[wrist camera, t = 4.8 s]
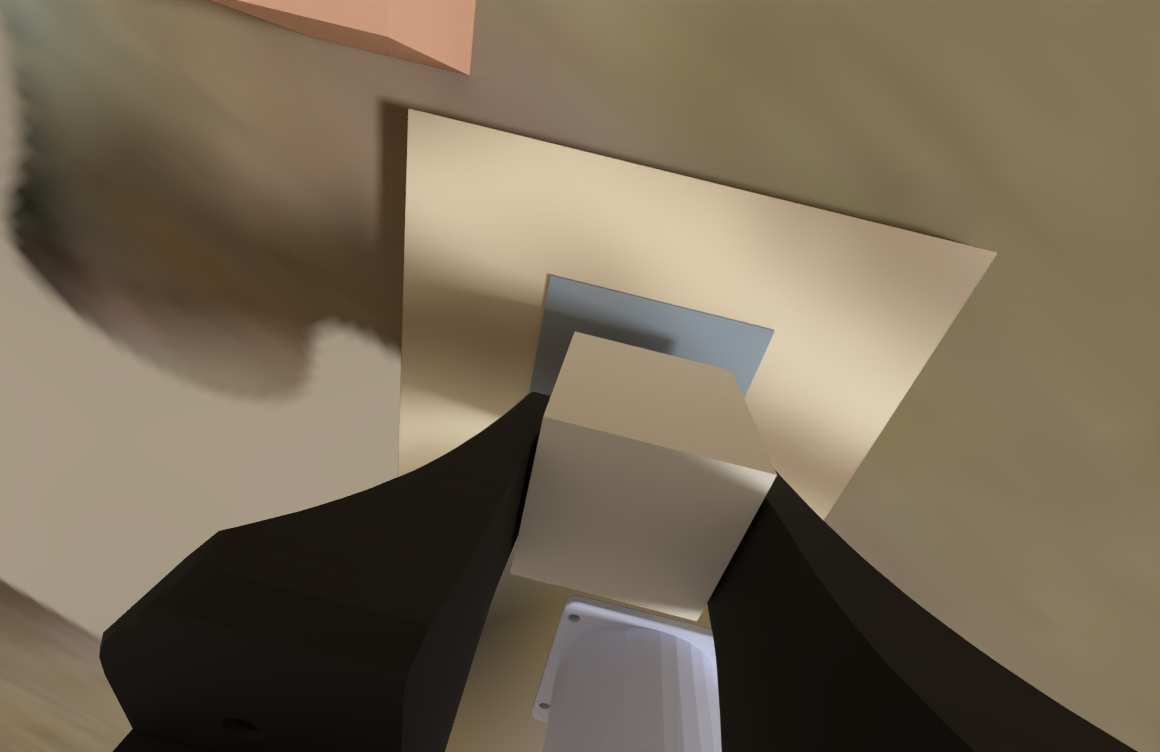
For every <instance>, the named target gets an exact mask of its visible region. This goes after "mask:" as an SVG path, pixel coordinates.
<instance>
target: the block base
mask: <svg viewBox="0 0 1160 752" xmlns="http://www.w3.org/2000/svg"><path fill="white" fill-rule="evenodd" d="M776 476H777V474H776V471H775V469H774V467H773V464H772V462H771V460H770V457H769V455H768V453H767V450H766V448H765V446H764V443H763V441H762V439H761V436H760V434H759V432H758V429H757V427H756V425H755V422H754V420H753V418H752V415H751V413H750V411H749V408H748V406H747V404H746V401H745V399H744V397H743V394H742V392H741V390H740V387H739V385H738V383H737V380H736V378H735V376H734V373H733V371H732V370H728V369H724V368H720V367H716V366H712V365H708V364H704V363H700V362H696V361H692V360H688V359H684V358H680V357H676V356H672V355H668V354H664V353H660V352H656V351H651V350H647V349H643V348H639V347H635V346H631V345H627V344H623V343H619V342H615V341H611V340H607V339H603V338H599V337H595V336H591V335H587V334H583V333H579V332H574V335H573V338H572V340H571V343H570V346H569V348H568V351H567V354H566V356H565V359H564V362H563V365H562V367H561V370H560V373H559V375H558V378H557V381H556V383H555V386H554V389H553V392H552V394H551V397H550V400H549V402H548V405H547V408H546V410H545V413H544V416H543V420H542V425H541V430H540V434H539V439H538V444H537V449H536V454H535V458H534V463H533V468H532V473H531V477H530V482H529V487H528V492H527V496H526V501H525V506H524V511H523V515H522V520H521V525H520V530H519V534H518V540H517V544H516V549H515V553H514V558H513V563H512V568H511V572H510V573H511V574H513V575H517V576H521V577H525V578H529V579H533V580H537V581H540V582H544V583H548V584H552V585H556V586H561V587H564V588H568V589H572V590H576V591H580V592H584V593H587V594H592V595H595V596H599V597H603V598H607V599H611V600H615V601H619V602H623V603H627V604H631V605H635V606H639V607H642V608H647V609H650V610H654V611H658V612H662V613H666V614H670V615H674V616H678V617H681V618H686V619H689V620H694V621H697V620H698V618H699V616H700V615H701V613H702V611H703V609H704V607H705V606H706V604H707V602H708V600H709V598H710V597H711V595H712V593H713V591H714V589H715V587H716V586H717V584H718V582H719V580H720V578H721V576H722V575H723V573H724V571H725V569H726V567H727V566H728V564H729V562H730V560H731V558H732V556H733V555H734V553H735V551H736V549H737V547H738V545H739V544H740V542H741V540H742V538H743V536H744V535H745V533H746V531H747V529H748V527H749V525H750V524H751V522H752V520H753V518H754V516H755V514H756V513H757V511H758V509H759V507H760V505H761V504H762V502H763V500H764V498H765V496H766V494H767V493H768V491H769V489H770V487H771V485H772V483H773V482H774V480H775V478H776Z"/></svg>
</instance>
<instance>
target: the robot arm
mask: <svg viewBox="0 0 1160 752" xmlns="http://www.w3.org/2000/svg"><path fill="white" fill-rule="evenodd" d="M550 397H551V396H549V395H545V394H541V393H537V392H531V393H529V394H527V395H526V396H525V397H524V398H523V399H522V400H521V401H520V402H519V403H517V404H516V405H515V406H514V407H513V408H511V409H510V410H509V411H508V412H507V413H505V414H504V415H503V416H501V417H500V418H499V419H497V420H496V421H495V422H493V423H492V424H491V425H489V426H488V427H487V428H485V429H484V430H483V431H481V432H480V433H478V434H477V435H475V436H473V437H472V438H470V439H469V440H467V441H466V442H464V443H463V444H461V445H459V446H458V447H456V448H455V449H453V450H451V451H450V452H448V453H446V454H444V455H443V456H441V457H439V458H437V459H435V460H433V461H431V462H429V463H428V464H426V465H424V466H422V467H420V468H418V469H416V470H413V471H411V472H409V473H407V474H404V475H402V476H399V477H397V478H395V479H392V480H390V481H387V482H385V483H382V484H380V485H378V486H375V487H373V488H370V489H368V490H365V491H362V492H359V493H356V494H353V495H351V496H347V497H345V498H342V499H338V500H335V501H332V502H329V503H326V504H322V505H319V506H316V507H313V508H309V509H306V510H303V511H299V512H295V513H291V514H287V515H283V516H279V517H275V518H271V519H267V520H263V521H259V522H255V523H251V524H247V525H243V526H239V527H235V528H230V529H226V530H222V531H219V532H217V533H216V534H215V535H213V536H212V537H211V538H210V539H208V540H207V541H206V542H205V543H203V545H201V546H200V547H199V548H197V549H196V550H195V551H194V552H192V553H191V554H190V555H189V556H187V557H186V558H185V559H184V560H183V561H182V562H181V563H180V564H179V565H177V566H176V567H175V568H174V569H173V570H172V571H171V572H170V573H169V574H168V575H166V576H165V577H164V578H163V579H162V580H161V581H160V582H159V583H158V584H157V585H156V586H154V587H153V588H152V589H151V590H150V591H149V592H148V593H147V594H145V595H144V596H143V597H142V598H141V599H140V600H139V601H138V602H137V603H136V604H134V605H133V606H132V607H131V608H130V609H129V610H128V611H127V612H126V613H125V614H123V615H122V617H120V618H119V619H118V620H117V621H116V622H115V623H114V624H113V625H111V626H110V627H109V628H108V629H107V630H106V631H105V632H104V633H103V637H102V641H101V646H100V660H101V664H102V667H103V670H104V674H105V676H106V678H107V680H108V681H109V683H110V685H111V687H112V689H113V691H114V693H115V695H116V697H117V699H118V701H119V703H120V705H121V707H122V709H123V711H124V712H125V714H126V716H127V718H128V720H129V722H130V724H131V726H132V728H133V729H132V730H131V731H130V733H129V734H128V735H127V736H126V737H125V738H124V739H123V741H122V742H121V743H120V744H119V745H118V746H117V747H116V748H115V750H114V751H113V752H445V749H446V746H447V743H448V739H449V736H450V733H451V730H452V726H453V723H454V720H455V717H456V713H457V710H458V707H459V703H460V700H461V697H462V694H463V691H464V687H465V684H466V681H467V678H468V674H469V671H470V668H471V665H472V661H473V658H474V655H475V652H476V649H477V645H478V642H479V639H480V636H481V633H482V629H483V626H484V623H485V620H486V617H487V614H488V610H489V607H490V604H491V601H492V598H493V596H494V593H495V590H496V588H497V585H498V582H499V580H500V578H501V575H502V573H503V570H504V568H505V566H506V563H507V561H508V558H509V556H510V553H511V551H512V549H513V546H514V544H515V542H516V539H517V537H518V534H519V530H520V525H521V520H522V515H523V511H524V506H525V501H526V496H527V492H528V487H529V482H530V477H531V473H532V468H533V463H534V458H535V454H536V449H537V444H538V439H539V434H540V430H541V425H542V420H543V416H544V413H545V410H546V408H547V405H548V402H549V400H550ZM775 471H776V470H775ZM776 474H777V476H776V478H775V480H774V482H773V483H772V485H771V487H770V489H769V491H768V493H767V494H766V496H765V498H764V500H763V502H762V504H761V505H760V507H759V509H758V511H757V513H756V514H755V516H754V518H753V520H752V522H751V524H750V525H749V527H748V529H747V531H746V533H745V535H744V536H743V538H742V540H741V542H740V544H739V545H738V547H737V549H736V551H735V553H734V555H733V556H732V558H731V560H730V562H729V564H728V566H727V567H726V569H725V571H724V573H723V575H722V576H721V578H720V580H719V582H718V584H717V586H716V587H715V589H714V591H713V593H712V595H711V597H710V598H709V600H708V602H707V604H708V610H709V616H710V622H711V627H712V629H709V628H705V627H701V626H697V625H693V624H689V623H685V622H681V621H677V620H673V619H669V618H666V617H662V616H658V615H654V614H650V613H646V612H642V611H638V610H634V609H631V608H627V607H623V606H619V605H615V604H611V603H607V602H603V601H599V600H595V599H591V598H587V597H584V596H579V595H573V596H570V597H568V598H567V599H566V602H565V605H564V608H563V611H562V615H561V618H560V621H559V624H558V627H557V631H556V634H555V637H554V640H553V643H552V646H551V650H550V653H549V656H548V659H547V663H546V666H545V669H544V672H543V675H542V679H541V682H540V685H539V689H538V691H537V695H536V698H535V701H534V705H533V708H532V716H533V718H534V719H536V720H538V721H542V722H546V723H547V729H546V735H545V741H544V748H543V752H1137V751H1135V750H1134V749H1132V748H1130V747H1129V746H1127V745H1126V744H1124V743H1122V742H1121V741H1119V740H1117V739H1116V738H1114V737H1112V736H1111V735H1109V734H1108V733H1106V732H1104V731H1103V730H1101V729H1099V728H1098V727H1096V726H1094V725H1093V724H1091V723H1090V722H1088V721H1086V720H1085V719H1083V718H1081V717H1080V716H1078V715H1076V714H1075V713H1073V712H1072V711H1070V710H1068V709H1067V708H1065V707H1064V706H1062V705H1060V704H1059V703H1057V702H1056V701H1054V700H1053V699H1051V698H1050V697H1048V696H1047V695H1045V694H1044V693H1042V692H1041V691H1039V690H1038V689H1036V688H1035V687H1033V686H1032V685H1030V684H1029V683H1027V682H1026V681H1024V680H1023V679H1021V678H1020V677H1018V676H1017V675H1015V674H1014V673H1012V672H1011V671H1009V670H1008V669H1006V668H1005V667H1003V666H1002V665H1000V664H999V663H997V662H996V661H995V660H993V659H992V658H990V657H989V656H987V655H986V654H985V653H983V652H982V651H980V650H979V649H977V648H976V647H975V646H973V645H972V644H970V643H969V642H968V641H966V640H965V639H964V638H962V637H961V636H960V635H958V634H957V633H956V632H954V631H953V630H952V629H950V628H949V627H948V626H946V625H945V624H943V623H942V622H941V621H939V620H938V619H937V618H935V617H934V616H933V615H931V614H930V613H929V612H927V611H926V610H925V609H924V608H922V607H921V606H920V605H918V604H917V603H916V602H915V601H913V600H912V599H911V598H910V597H908V596H907V595H906V594H905V593H903V592H902V591H901V590H900V589H899V588H897V587H896V586H895V585H894V584H893V583H892V582H890V581H889V580H888V579H887V578H886V577H884V576H883V575H882V574H881V573H880V572H878V571H877V570H876V569H875V568H874V567H873V566H871V565H870V564H869V563H868V562H867V561H866V560H865V559H863V558H862V557H861V556H860V555H859V554H858V553H857V552H856V551H855V550H854V549H852V548H851V547H850V546H849V545H848V544H847V543H846V542H845V541H844V540H843V539H842V538H841V537H840V536H839V535H838V534H837V533H836V532H835V531H834V530H833V529H832V528H830V527H829V526H828V525H827V524H826V523H825V522H824V521H823V520H822V519H821V518H820V517H819V516H818V515H817V514H816V513H815V511H814V510H813V509H812V508H811V507H810V506H809V505H808V504H807V503H806V502H805V501H804V500H803V499H802V498H801V497H800V496H799V495H798V494H797V493H796V492H795V491H794V490H793V488H792V487H791V486H790V485H789V484H788V483H787V482H786V481H785V480H784V479H783V478H782V477H781V476H780V475H779V473H778V472H777V471H776Z"/></svg>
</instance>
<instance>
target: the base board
mask: <svg viewBox="0 0 1160 752" xmlns="http://www.w3.org/2000/svg"><path fill="white" fill-rule="evenodd" d="M996 254H997V252H994V251H990V250H986V249H983V248H979V247H975V246H971V245H968V244H964V243H959V242H955V241H951V240H947V239H943V238H939V237H935V236H931V235H927V234H923V233H919V232H914V231H910V230H906V229H902V228H898V227H894V226H890V225H886V224H882V223H878V222H874V221H869V220H865V219H861V218H857V217H853V216H849V215H845V214H841V213H837V212H833V211H829V210H824V209H820V208H816V207H812V206H808V205H804V204H800V203H796V202H792V201H788V200H783V199H779V198H775V197H771V196H767V195H763V194H759V193H755V192H751V191H747V190H743V189H738V188H734V187H730V186H726V185H722V184H718V183H714V182H710V181H706V180H702V179H698V178H693V177H689V176H685V175H681V174H677V173H673V172H669V171H665V170H661V169H657V168H653V167H648V166H644V165H640V164H636V163H632V162H628V161H624V160H620V159H616V158H612V157H608V156H603V155H599V154H595V153H591V152H587V151H583V150H579V149H575V148H571V147H567V146H563V145H558V144H554V143H550V142H546V141H542V140H538V139H534V138H530V137H526V136H522V135H518V134H513V133H509V132H505V131H501V130H497V129H493V128H489V127H485V126H481V125H477V124H473V123H468V122H464V121H460V120H456V119H452V118H448V117H444V116H440V115H436V114H432V113H427V112H423V111H418V110H413V109H408V139H407V175H406V210H405V245H404V281H403V316H402V352H401V387H400V422H399V423H400V425H399V459H398V477H399V476H402V475H404V474H407V473H409V472H411V471H413V470H416V469H418V468H420V467H422V466H424V465H426V464H428V463H429V462H431V461H433V460H435V459H437V458H439V457H441V456H443V455H444V454H446V453H448V452H450V451H451V450H453V449H455V448H456V447H458V446H459V445H461V444H463V443H464V442H466V441H467V440H469V439H470V438H472V437H473V436H475V435H477V434H478V433H480V432H481V431H483V430H484V429H485V428H487V427H488V426H489V425H491V424H492V423H493V422H495V421H496V420H497V419H499V418H500V417H501V416H503V415H504V414H505V413H507V412H508V411H509V410H510V409H511V408H513V407H514V406H515V405H516V404H517V403H519V402H520V401H521V400H522V399H523V398H524V397H525V396H526V395H527V394H529V393H531V392H537V393H541V394H545V395H549V396H551V394H552V392H553V389H554V386H555V383H556V381H557V378H558V375H559V373H560V370H561V367H562V365H563V362H564V359H565V356H566V354H567V351H568V348H569V346H570V343H571V340H572V338H573V335H574V332H579V333H583V334H587V335H591V336H595V337H599V338H603V339H607V340H611V341H615V342H619V343H623V344H627V345H631V346H635V347H639V348H643V349H647V350H651V351H656V352H660V353H664V354H668V355H672V356H676V357H680V358H684V359H688V360H692V361H696V362H700V363H704V364H708V365H712V366H716V367H720V368H724V369H728V370H732V371H733V373H734V376H735V378H736V380H737V383H738V385H739V387H740V390H741V392H742V394H743V397H744V399H745V401H746V404H747V406H748V408H749V411H750V413H751V415H752V418H753V420H754V422H755V425H756V427H757V429H758V432H759V434H760V436H761V439H762V441H763V443H764V446H765V448H766V450H767V453H768V455H769V457H770V460H771V462H772V464H773V467H774V469H775V470H776V471H777V472H778V473H779V475H780V476H781V477H782V478H783V479H784V480H785V481H786V482H787V483H788V484H789V485H790V486H791V487H792V488H793V490H794V491H795V492H796V493H797V494H798V495H799V496H800V497H801V498H802V499H803V500H804V501H805V502H806V503H807V504H808V505H809V506H810V507H811V508H812V509H813V510H814V511H815V513H816V514H817V515H818V516H819V517H820V518H821V519H822V520H824V519H825V517H826V516H827V514H828V513H829V511H830V510H831V508H832V507H833V505H834V503H835V502H836V500H837V499H838V497H839V496H840V494H841V493H842V491H843V490H844V488H845V487H846V485H847V483H848V482H849V480H850V479H851V477H852V476H853V474H854V473H855V471H856V470H857V468H858V467H859V465H860V463H861V462H862V460H863V459H864V457H865V456H866V454H867V453H868V451H869V450H870V448H871V447H872V445H873V443H874V442H875V440H876V439H877V437H878V436H879V434H880V433H881V431H882V430H883V428H884V427H885V425H886V424H887V422H888V420H889V419H890V417H891V416H892V414H893V413H894V411H895V410H896V408H897V407H898V405H899V404H900V402H901V400H902V399H903V397H904V396H905V394H906V393H907V391H908V390H909V388H910V387H911V385H912V384H913V382H914V380H915V379H916V377H917V376H918V374H919V373H920V371H921V370H922V368H923V367H924V365H925V364H926V362H927V361H928V359H929V357H930V356H931V354H932V353H933V351H934V350H935V348H936V347H937V345H938V344H939V342H940V341H941V339H942V337H943V336H944V334H945V333H946V331H947V330H948V328H949V327H950V325H951V324H952V322H953V321H954V319H955V317H956V316H957V314H958V313H959V311H960V310H961V308H962V307H963V305H964V304H965V302H966V301H967V299H968V298H969V296H970V294H971V293H972V291H973V290H974V288H975V287H976V285H977V284H978V282H979V281H980V279H981V278H982V276H983V274H984V273H985V271H986V270H987V268H988V267H989V265H990V264H991V262H992V261H993V259H994V258H995V256H996Z"/></svg>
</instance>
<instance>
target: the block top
mask: <svg viewBox="0 0 1160 752" xmlns="http://www.w3.org/2000/svg"><path fill="white" fill-rule="evenodd" d="M211 1H214V2H216V3H219V4H222V5H225V6H227V7H230V8H233V9H236V10H238V11H241V12H244V13H247V14H249V15H252V16H255V17H258V18H260V19H263V20H266V21H269V22H271V23H274V24H277V25H280V26H282V27H285V28H288V29H291V30H293V31H296V32H299V33H302V34H304V35H307V36H310V37H314V38H318V39H322V40H326V41H330V42H334V43H338V44H342V45H346V46H350V47H355V48H359V49H363V50H367V51H371V52H375V53H379V54H383V55H387V56H391V57H396V58H400V59H404V60H408V61H412V62H416V63H420V64H424V65H428V66H432V67H437V68H441V69H445V70H449V71H453V72H457V73H461V74H465V75H470V63H471V50H472V38H473V26H474V14H475V2H476V0H211Z"/></svg>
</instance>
